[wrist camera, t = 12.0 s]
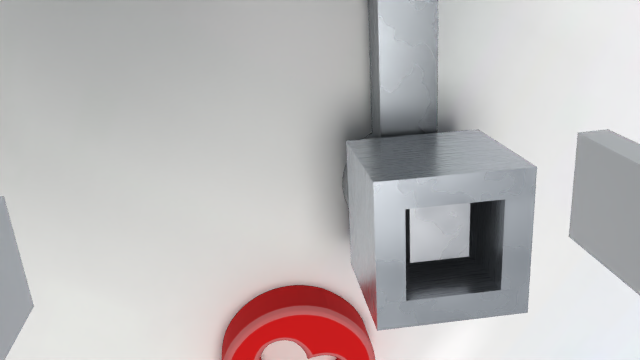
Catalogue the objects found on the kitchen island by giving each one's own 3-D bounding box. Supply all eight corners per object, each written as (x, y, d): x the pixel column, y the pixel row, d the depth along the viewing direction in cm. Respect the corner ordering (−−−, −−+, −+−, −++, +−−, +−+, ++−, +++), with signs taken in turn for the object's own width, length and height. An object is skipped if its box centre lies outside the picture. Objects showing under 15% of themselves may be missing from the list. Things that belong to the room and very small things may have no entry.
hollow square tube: (351, 264, 35) (377, 330, 29) (346, 140, 33) (373, 182, 26) (474, 250, 36) (527, 312, 30) (478, 129, 34) (536, 166, 27)
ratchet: (326, -170, 31) (355, -217, 23) (460, -175, 32) (531, -222, 24) (345, 238, 38) (371, 303, 31) (453, 226, 39) (505, 287, 31)
